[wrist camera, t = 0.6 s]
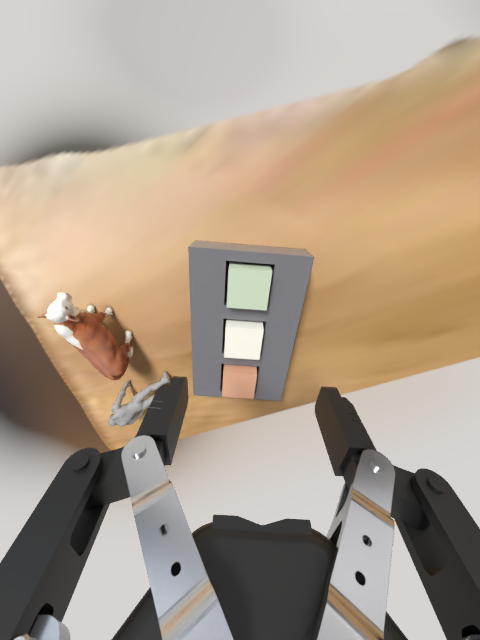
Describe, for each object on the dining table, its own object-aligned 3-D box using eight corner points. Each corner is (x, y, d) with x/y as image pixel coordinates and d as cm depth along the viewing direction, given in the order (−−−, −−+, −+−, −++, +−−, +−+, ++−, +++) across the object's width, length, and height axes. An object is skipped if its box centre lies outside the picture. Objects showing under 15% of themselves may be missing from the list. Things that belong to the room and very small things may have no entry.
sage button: (269, 264, 27) (272, 271, 25) (264, 300, 30) (266, 310, 27) (230, 260, 27) (228, 267, 25) (228, 297, 30) (226, 307, 27)
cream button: (262, 318, 31) (263, 329, 28) (258, 346, 33) (259, 359, 31) (227, 315, 31) (225, 327, 28) (225, 344, 33) (224, 357, 30)
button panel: (305, 249, 29) (314, 256, 25) (277, 382, 40) (280, 400, 36) (195, 240, 28) (188, 246, 25) (198, 377, 40) (193, 395, 36)
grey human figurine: (161, 357, 41) (102, 396, 40) (160, 373, 36) (93, 417, 35) (181, 381, 43) (126, 417, 42) (183, 398, 39) (121, 440, 38)
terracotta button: (256, 361, 35) (257, 375, 32) (252, 384, 37) (253, 398, 34) (224, 359, 34) (223, 372, 32) (223, 382, 37) (222, 396, 34)
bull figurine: (96, 274, 31) (52, 297, 24) (146, 350, 37) (122, 387, 30) (70, 283, 32) (19, 309, 24) (122, 356, 38) (94, 394, 30)
